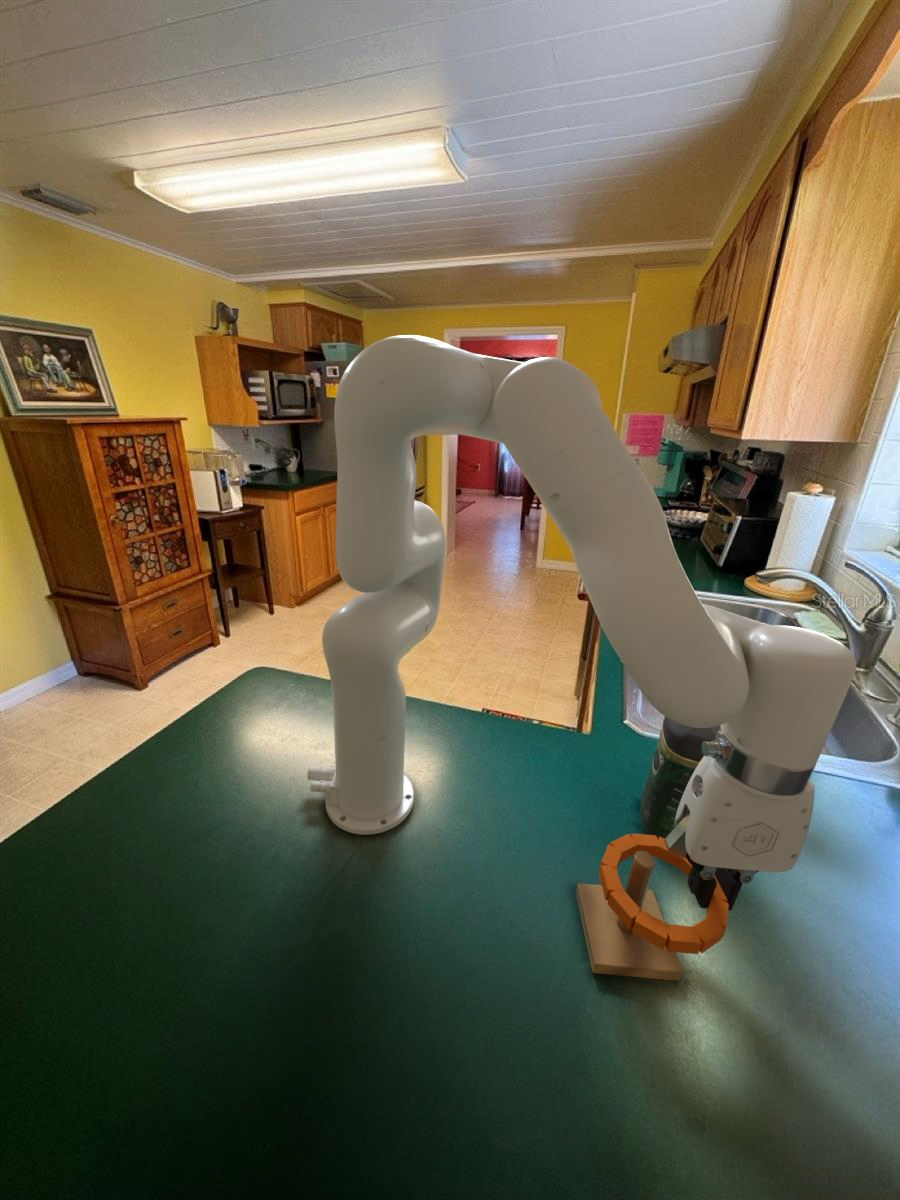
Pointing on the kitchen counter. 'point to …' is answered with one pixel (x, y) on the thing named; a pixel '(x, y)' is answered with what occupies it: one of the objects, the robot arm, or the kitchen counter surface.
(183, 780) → the kitchen counter surface
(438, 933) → the kitchen counter surface
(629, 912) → the orange segmented ring
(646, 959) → the stand
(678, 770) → the coffee jar
